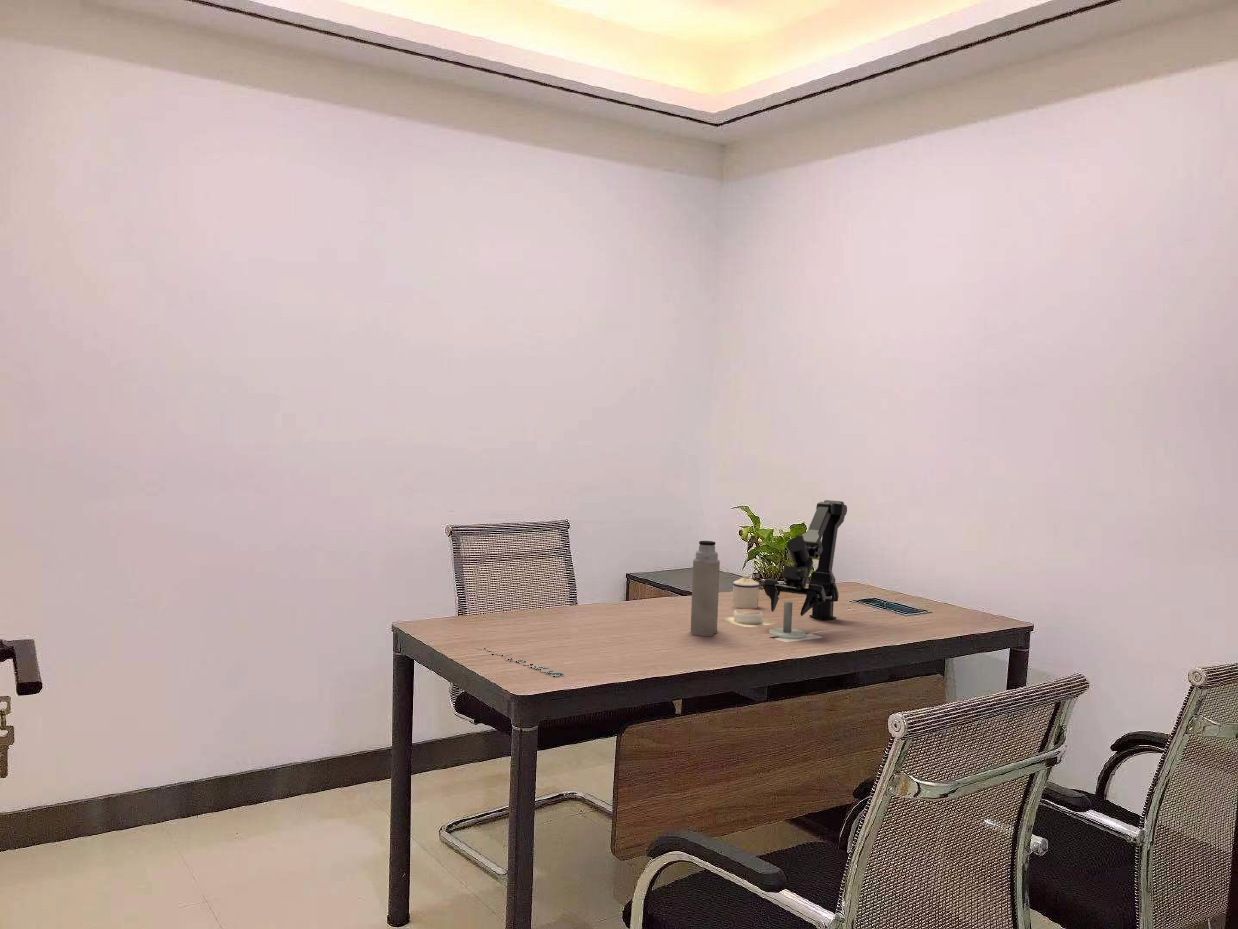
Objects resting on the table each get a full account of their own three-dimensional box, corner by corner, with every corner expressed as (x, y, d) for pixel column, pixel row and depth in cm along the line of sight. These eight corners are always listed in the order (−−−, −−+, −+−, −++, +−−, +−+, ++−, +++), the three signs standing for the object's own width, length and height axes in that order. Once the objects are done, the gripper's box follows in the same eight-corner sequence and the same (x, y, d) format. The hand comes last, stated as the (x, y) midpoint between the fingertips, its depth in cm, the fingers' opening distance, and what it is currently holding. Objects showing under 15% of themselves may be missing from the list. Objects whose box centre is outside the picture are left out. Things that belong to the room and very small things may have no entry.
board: (749, 618, 334) (750, 615, 334) (779, 626, 323) (779, 623, 323) (716, 622, 327) (716, 619, 327) (745, 630, 315) (745, 627, 315)
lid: (787, 629, 317) (788, 598, 317) (813, 636, 308) (814, 604, 308) (761, 632, 311) (762, 600, 311) (786, 640, 302) (787, 607, 302)
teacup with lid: (763, 611, 348) (765, 577, 347) (740, 612, 344) (742, 578, 343) (744, 604, 358) (746, 571, 358) (722, 605, 354) (723, 572, 354)
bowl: (749, 617, 331) (749, 608, 331) (768, 622, 323) (768, 613, 323) (727, 619, 326) (728, 610, 326) (746, 625, 318) (746, 615, 318)
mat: (788, 628, 320) (788, 627, 320) (822, 638, 308) (822, 637, 308) (751, 633, 312) (751, 632, 312) (785, 643, 299) (785, 642, 299)
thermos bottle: (694, 629, 315) (697, 538, 313) (719, 632, 312) (723, 540, 311) (687, 634, 307) (691, 541, 306) (713, 637, 305) (717, 543, 303)
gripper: (766, 552, 316) (751, 593, 307) (824, 559, 307) (811, 600, 298) (774, 575, 324) (759, 615, 315) (831, 581, 315) (818, 623, 306)
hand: (786, 613), depth 308 cm, fingers open, 9 cm apart
